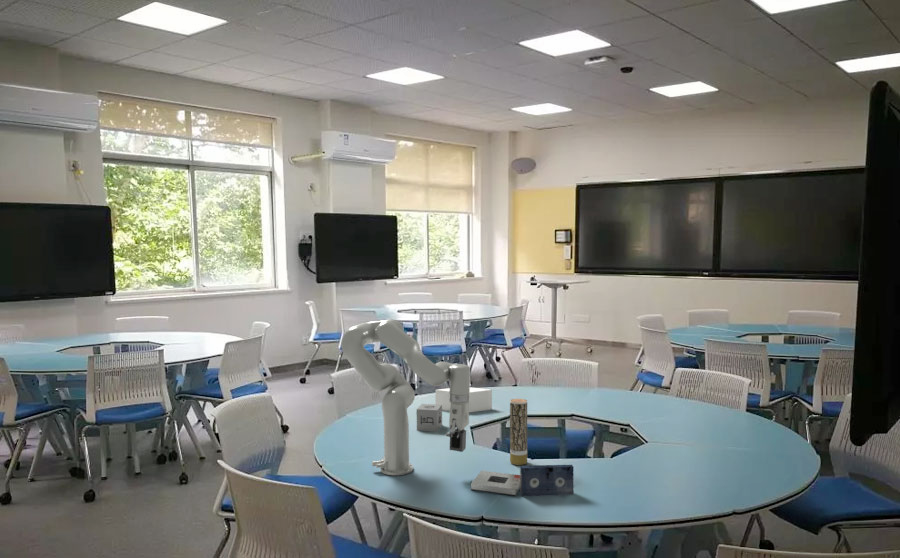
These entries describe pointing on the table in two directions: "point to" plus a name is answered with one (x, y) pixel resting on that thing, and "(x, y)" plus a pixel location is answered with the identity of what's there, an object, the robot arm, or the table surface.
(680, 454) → the table surface
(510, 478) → the socket plate
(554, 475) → the vhs cassette tape
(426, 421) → the icon cube
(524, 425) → the paper tube
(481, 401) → the block
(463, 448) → the plug
